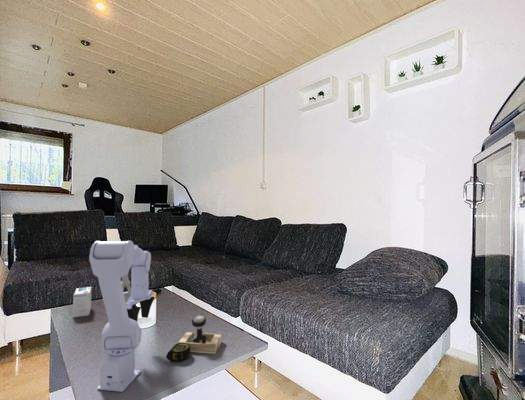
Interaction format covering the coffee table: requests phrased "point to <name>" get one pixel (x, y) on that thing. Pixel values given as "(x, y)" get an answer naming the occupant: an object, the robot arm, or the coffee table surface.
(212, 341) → the pocket block
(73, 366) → the coffee table surface
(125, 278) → the eiffel tower
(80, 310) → the light bulb box
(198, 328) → the push button
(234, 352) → the coffee table surface
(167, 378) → the coffee table surface
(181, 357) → the tape measure
